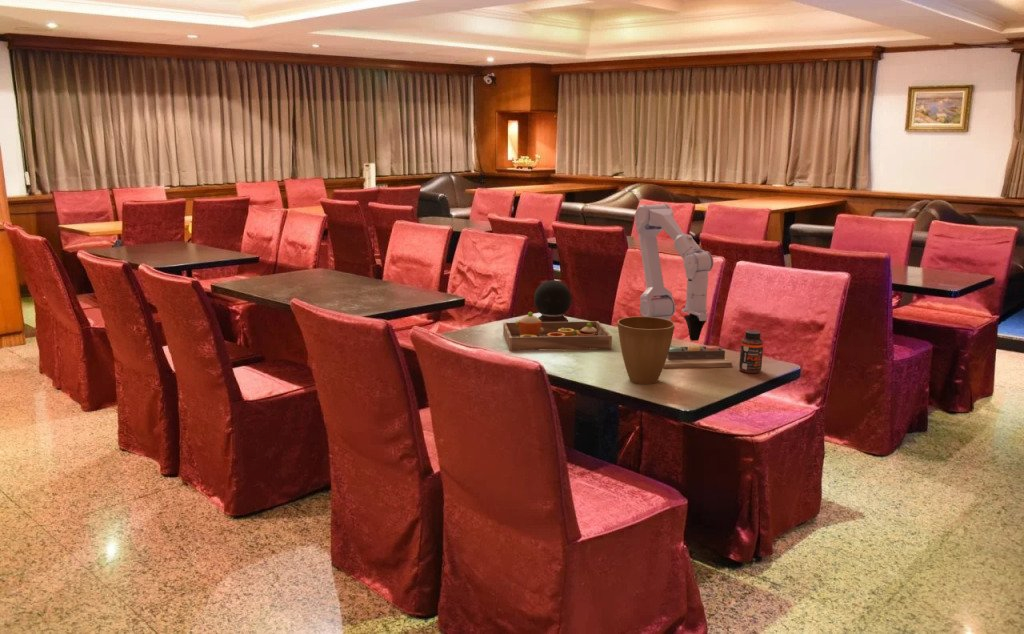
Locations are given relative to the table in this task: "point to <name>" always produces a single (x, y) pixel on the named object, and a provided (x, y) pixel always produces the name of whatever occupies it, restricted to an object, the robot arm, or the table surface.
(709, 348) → the brick button
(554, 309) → the dark fuzzy ball
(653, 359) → the plant pot
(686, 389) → the table surface
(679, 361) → the button board
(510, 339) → the tea set tray rim
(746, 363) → the supplement bottle
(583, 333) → the toy tea set
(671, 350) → the teal button
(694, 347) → the ochre button
